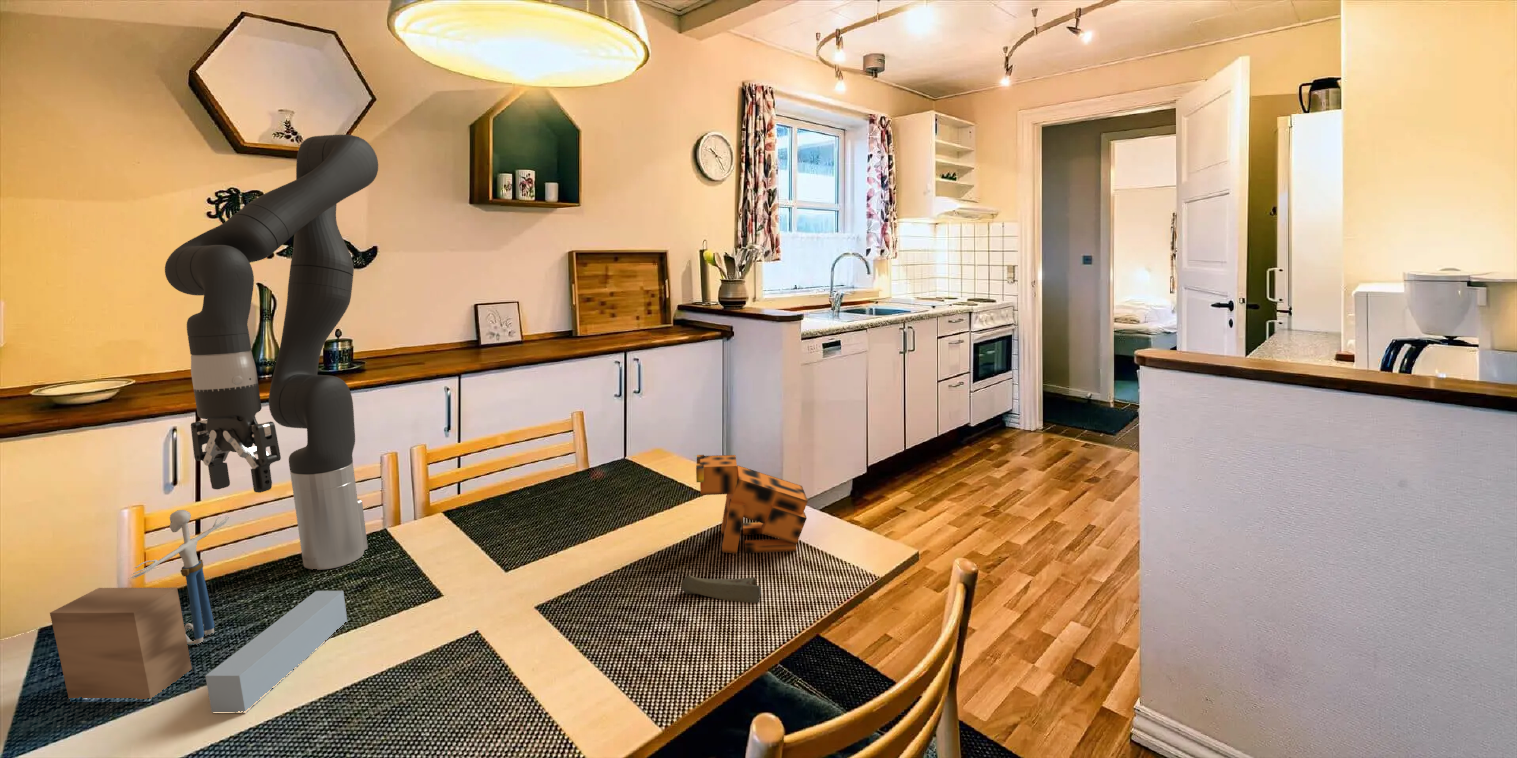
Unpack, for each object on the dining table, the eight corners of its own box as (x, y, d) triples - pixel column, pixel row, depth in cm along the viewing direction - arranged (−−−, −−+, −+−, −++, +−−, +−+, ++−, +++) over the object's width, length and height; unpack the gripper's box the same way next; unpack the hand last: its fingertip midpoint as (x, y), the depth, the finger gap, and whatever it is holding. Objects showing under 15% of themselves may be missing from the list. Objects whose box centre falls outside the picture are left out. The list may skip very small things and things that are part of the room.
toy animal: (808, 551, 122) (809, 467, 119) (698, 555, 121) (696, 470, 118) (800, 527, 133) (801, 450, 130) (698, 531, 131) (697, 452, 128)
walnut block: (116, 672, 88) (98, 587, 86) (192, 672, 88) (177, 587, 85) (69, 703, 82) (49, 612, 80) (151, 703, 82) (133, 612, 80)
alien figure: (216, 605, 104) (196, 487, 101) (254, 602, 105) (235, 485, 101) (113, 687, 85) (84, 543, 81) (161, 683, 86) (134, 541, 82)
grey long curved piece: (764, 588, 109) (764, 568, 108) (759, 605, 104) (759, 583, 104) (687, 584, 111) (686, 564, 110) (679, 600, 106) (678, 579, 106)
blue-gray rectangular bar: (320, 622, 99) (316, 590, 98) (347, 622, 99) (343, 590, 98) (212, 713, 80) (205, 675, 79) (245, 713, 80) (239, 675, 79)
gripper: (287, 380, 101) (301, 484, 103) (217, 379, 105) (232, 479, 107) (235, 388, 94) (252, 500, 96) (163, 386, 98) (180, 494, 100)
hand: (241, 489), depth 101 cm, fingers open, 8 cm apart
